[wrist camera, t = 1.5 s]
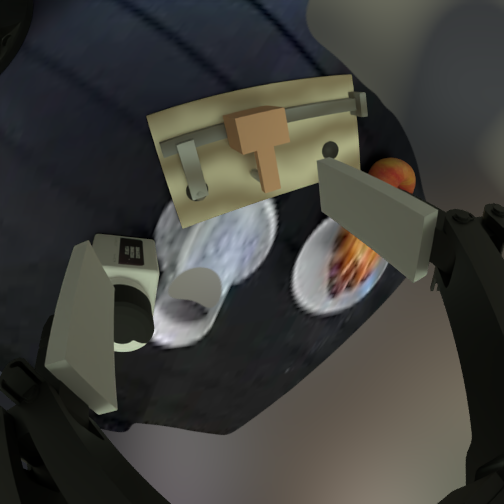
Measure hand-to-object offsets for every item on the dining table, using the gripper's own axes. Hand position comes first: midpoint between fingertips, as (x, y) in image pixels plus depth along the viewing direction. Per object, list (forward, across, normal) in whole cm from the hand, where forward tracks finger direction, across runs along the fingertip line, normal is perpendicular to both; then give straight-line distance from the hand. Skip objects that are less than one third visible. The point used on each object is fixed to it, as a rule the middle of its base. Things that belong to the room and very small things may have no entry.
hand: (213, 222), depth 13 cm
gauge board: (+22, +12, -3) cm, 25 cm away
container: (+22, -10, -12) cm, 27 cm away
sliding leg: (+20, +9, -2) cm, 22 cm away
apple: (+22, +29, -12) cm, 38 cm away
